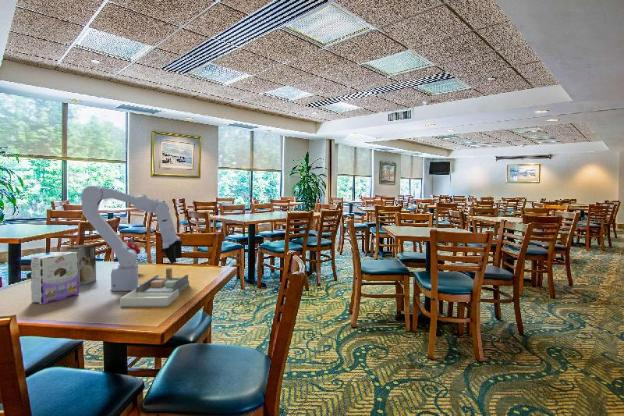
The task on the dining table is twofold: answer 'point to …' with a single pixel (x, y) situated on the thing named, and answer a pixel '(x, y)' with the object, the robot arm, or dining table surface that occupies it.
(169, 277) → the pale grey block
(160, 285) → the terracotta tile
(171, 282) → the sage tile
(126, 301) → the box
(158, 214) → the robot arm
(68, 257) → the candy box
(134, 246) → the decorative mushroom
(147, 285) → the plate
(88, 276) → the coffee box
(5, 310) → the dining table surface
